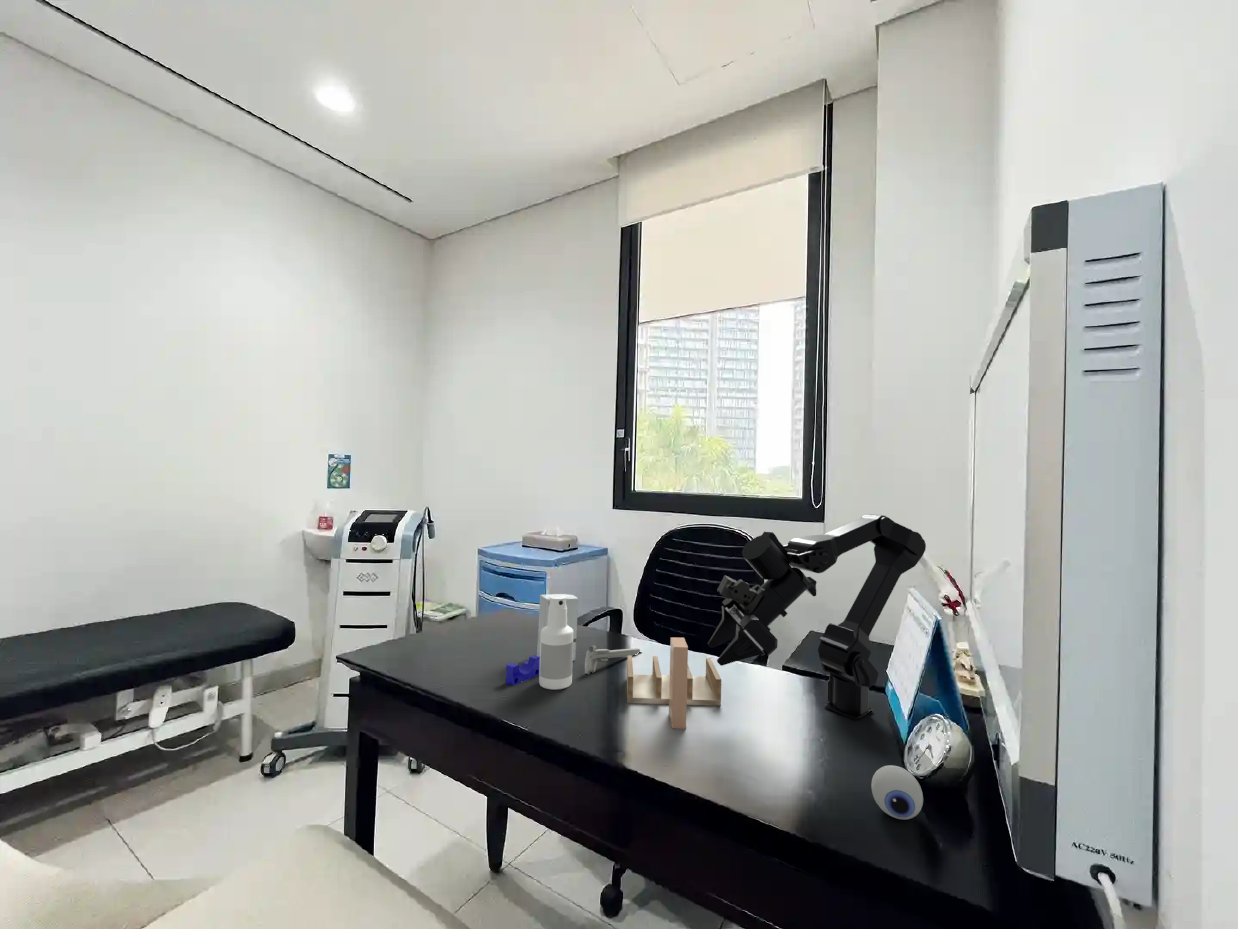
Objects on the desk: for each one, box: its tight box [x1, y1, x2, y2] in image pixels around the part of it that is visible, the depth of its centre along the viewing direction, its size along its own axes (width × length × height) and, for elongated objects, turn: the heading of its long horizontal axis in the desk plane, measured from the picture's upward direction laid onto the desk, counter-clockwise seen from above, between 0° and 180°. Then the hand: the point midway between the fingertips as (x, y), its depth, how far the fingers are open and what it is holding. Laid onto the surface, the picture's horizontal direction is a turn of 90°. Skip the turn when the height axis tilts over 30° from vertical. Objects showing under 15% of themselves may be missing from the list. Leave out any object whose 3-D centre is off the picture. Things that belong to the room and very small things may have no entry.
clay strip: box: [668, 637, 689, 729], centre depth 93 cm, size 2×6×14 cm, turn 0°
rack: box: [626, 655, 722, 707], centre depth 105 cm, size 18×12×5 cm, turn 90°
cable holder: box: [505, 654, 540, 686], centre depth 110 cm, size 8×4×4 cm, turn 144°
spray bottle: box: [538, 595, 573, 691], centre depth 108 cm, size 7×7×18 cm
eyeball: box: [870, 764, 924, 821], centre depth 68 cm, size 6×6×6 cm
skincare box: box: [536, 593, 579, 662], centre depth 123 cm, size 8×6×15 cm
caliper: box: [584, 644, 641, 675], centre depth 121 cm, size 20×1×6 cm, turn 142°
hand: (713, 654), depth 93 cm, fingers open, 9 cm apart
